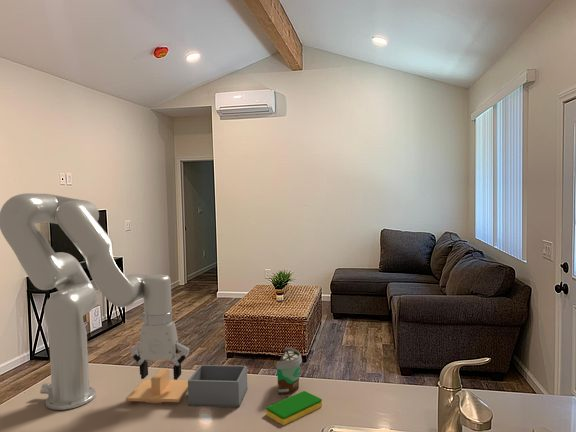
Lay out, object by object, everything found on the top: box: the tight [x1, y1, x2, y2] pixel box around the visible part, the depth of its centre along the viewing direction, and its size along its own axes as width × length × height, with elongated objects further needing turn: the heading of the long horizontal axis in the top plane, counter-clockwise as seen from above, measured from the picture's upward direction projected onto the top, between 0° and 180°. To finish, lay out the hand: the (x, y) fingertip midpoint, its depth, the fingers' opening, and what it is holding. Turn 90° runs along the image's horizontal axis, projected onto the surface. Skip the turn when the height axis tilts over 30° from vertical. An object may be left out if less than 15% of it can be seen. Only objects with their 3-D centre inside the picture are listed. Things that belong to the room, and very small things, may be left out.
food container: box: [276, 347, 303, 396], centre depth 126 cm, size 12×6×10 cm, turn 168°
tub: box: [187, 364, 248, 409], centre depth 121 cm, size 14×11×7 cm
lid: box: [125, 367, 189, 404], centre depth 123 cm, size 15×12×6 cm
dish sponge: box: [265, 390, 323, 426], centre depth 113 cm, size 7×14×2 cm, turn 131°
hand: (160, 377), depth 123 cm, fingers open, 9 cm apart
